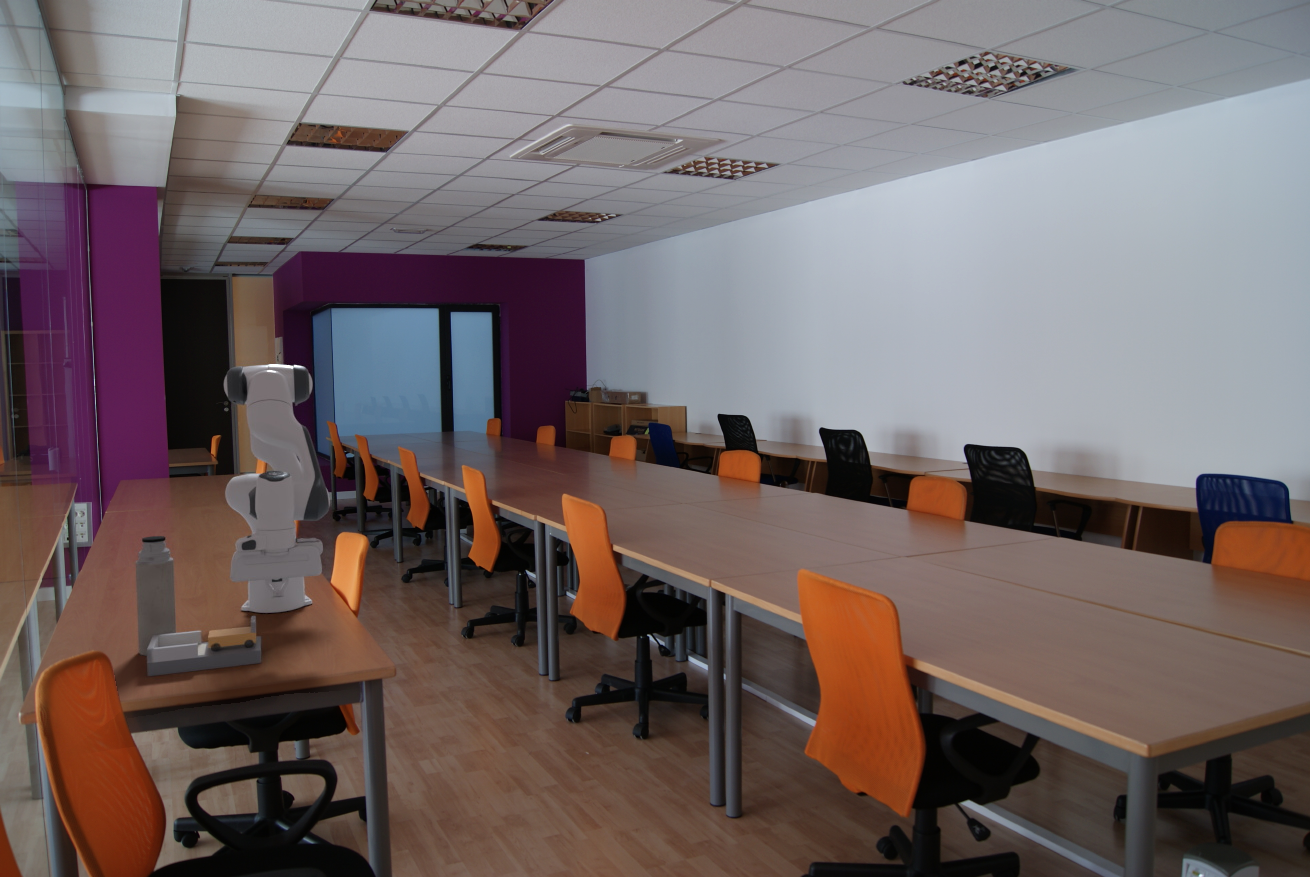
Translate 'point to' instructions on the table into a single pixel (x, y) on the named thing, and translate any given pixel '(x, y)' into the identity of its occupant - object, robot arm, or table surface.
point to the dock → (195, 654)
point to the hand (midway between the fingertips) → (277, 596)
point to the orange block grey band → (233, 636)
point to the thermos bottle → (154, 591)
